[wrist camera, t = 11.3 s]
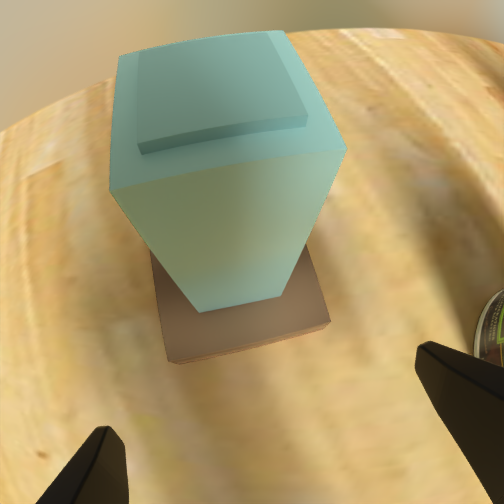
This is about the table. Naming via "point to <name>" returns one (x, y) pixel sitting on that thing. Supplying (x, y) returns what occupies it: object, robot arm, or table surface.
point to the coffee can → (491, 331)
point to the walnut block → (238, 316)
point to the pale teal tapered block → (222, 161)
